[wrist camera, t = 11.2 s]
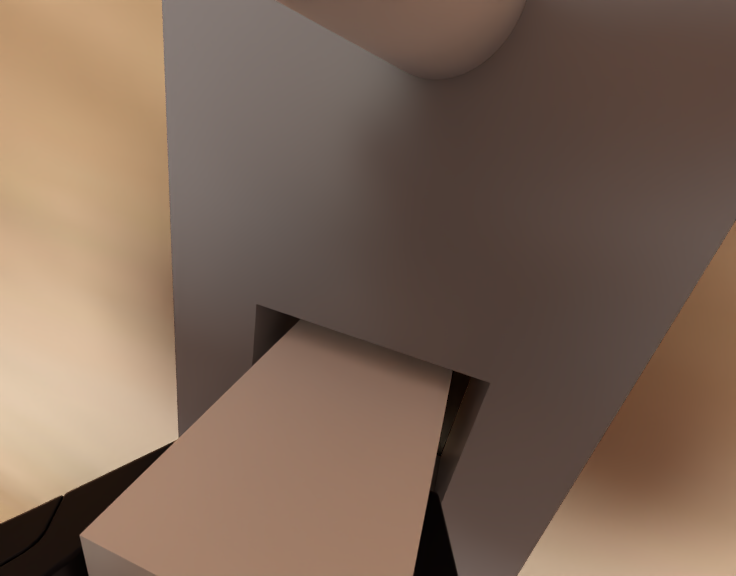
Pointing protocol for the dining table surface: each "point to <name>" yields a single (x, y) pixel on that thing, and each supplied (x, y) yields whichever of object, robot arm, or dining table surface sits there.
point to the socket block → (452, 211)
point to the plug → (289, 471)
